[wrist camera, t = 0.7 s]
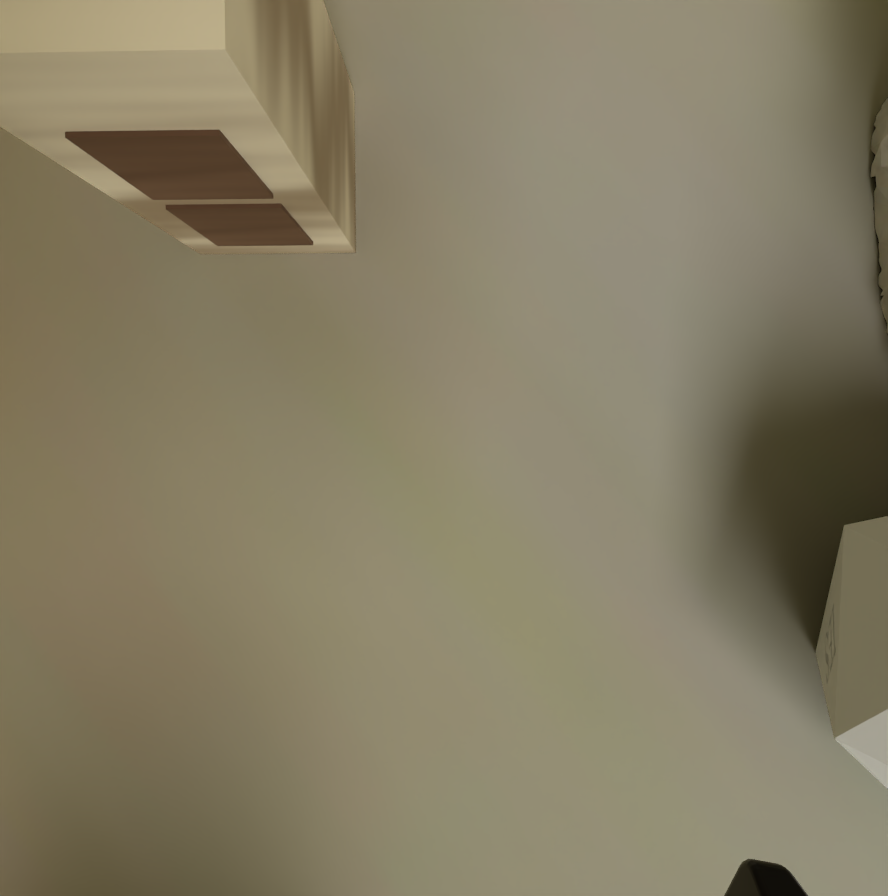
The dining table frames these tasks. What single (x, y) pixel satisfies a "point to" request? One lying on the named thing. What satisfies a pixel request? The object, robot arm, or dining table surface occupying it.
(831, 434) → the dining table surface
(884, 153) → the jagged grey rock
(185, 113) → the cream two-panel pillar
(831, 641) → the die
